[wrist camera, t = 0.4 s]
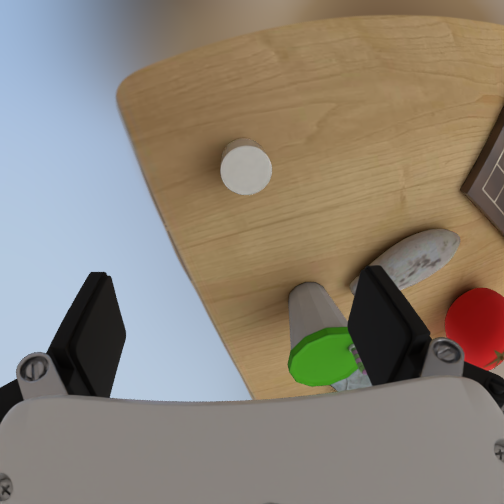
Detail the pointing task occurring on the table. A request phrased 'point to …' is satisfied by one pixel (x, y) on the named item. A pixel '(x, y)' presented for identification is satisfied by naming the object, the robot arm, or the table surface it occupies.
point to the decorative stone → (416, 257)
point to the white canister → (245, 167)
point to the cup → (319, 338)
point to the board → (489, 178)
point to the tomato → (478, 326)
